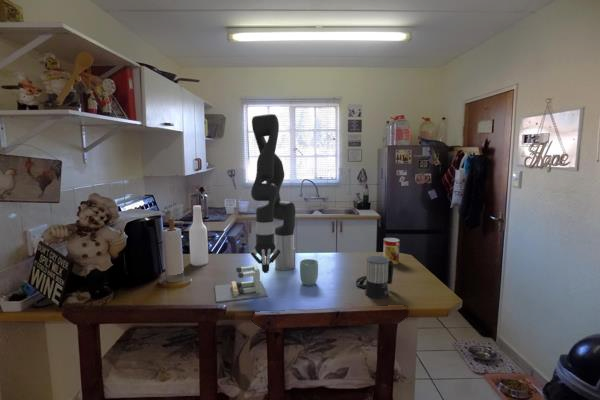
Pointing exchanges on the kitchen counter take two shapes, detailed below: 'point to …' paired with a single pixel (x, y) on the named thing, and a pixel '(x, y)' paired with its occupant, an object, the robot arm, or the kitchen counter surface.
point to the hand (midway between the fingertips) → (265, 272)
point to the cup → (309, 271)
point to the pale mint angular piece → (255, 281)
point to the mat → (228, 295)
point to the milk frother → (377, 276)
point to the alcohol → (198, 239)
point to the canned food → (391, 249)
